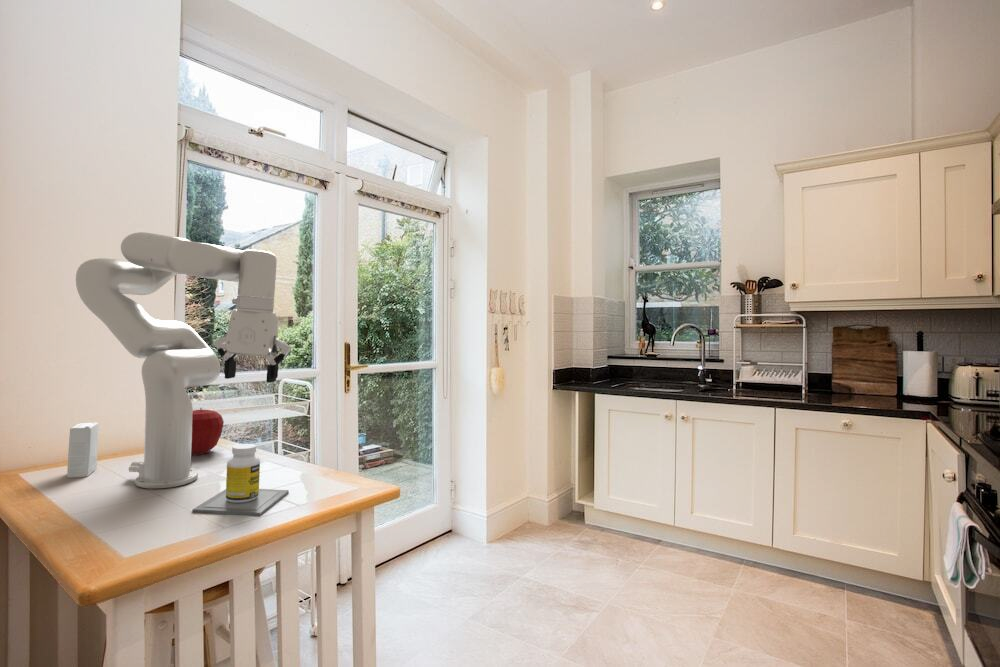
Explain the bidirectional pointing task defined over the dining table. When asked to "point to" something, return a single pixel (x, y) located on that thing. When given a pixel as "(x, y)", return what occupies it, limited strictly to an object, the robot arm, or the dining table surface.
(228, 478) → the pill bottle
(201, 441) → the apple
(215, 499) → the coaster
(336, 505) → the dining table surface
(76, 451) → the skincare box
